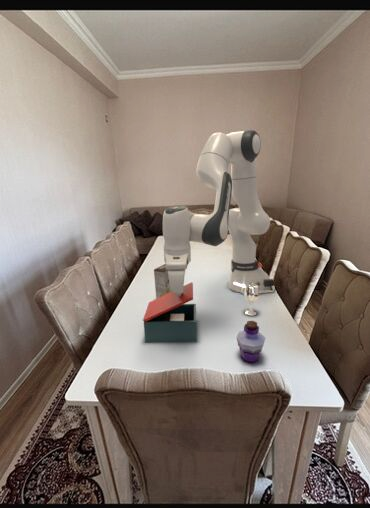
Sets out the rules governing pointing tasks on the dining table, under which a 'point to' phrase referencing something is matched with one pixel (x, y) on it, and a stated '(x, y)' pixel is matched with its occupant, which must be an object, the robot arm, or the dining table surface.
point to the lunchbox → (173, 326)
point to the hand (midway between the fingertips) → (178, 294)
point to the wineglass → (251, 296)
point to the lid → (168, 302)
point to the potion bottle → (250, 342)
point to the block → (177, 317)
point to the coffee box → (161, 280)
